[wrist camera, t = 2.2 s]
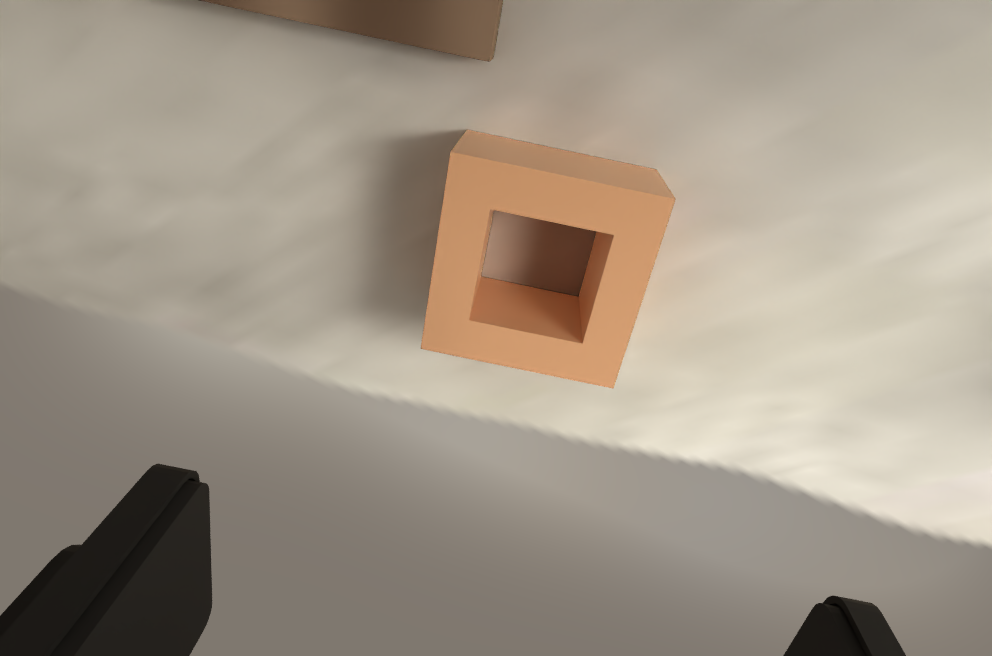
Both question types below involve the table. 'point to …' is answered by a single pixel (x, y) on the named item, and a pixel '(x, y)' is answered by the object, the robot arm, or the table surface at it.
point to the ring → (532, 311)
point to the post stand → (397, 20)
